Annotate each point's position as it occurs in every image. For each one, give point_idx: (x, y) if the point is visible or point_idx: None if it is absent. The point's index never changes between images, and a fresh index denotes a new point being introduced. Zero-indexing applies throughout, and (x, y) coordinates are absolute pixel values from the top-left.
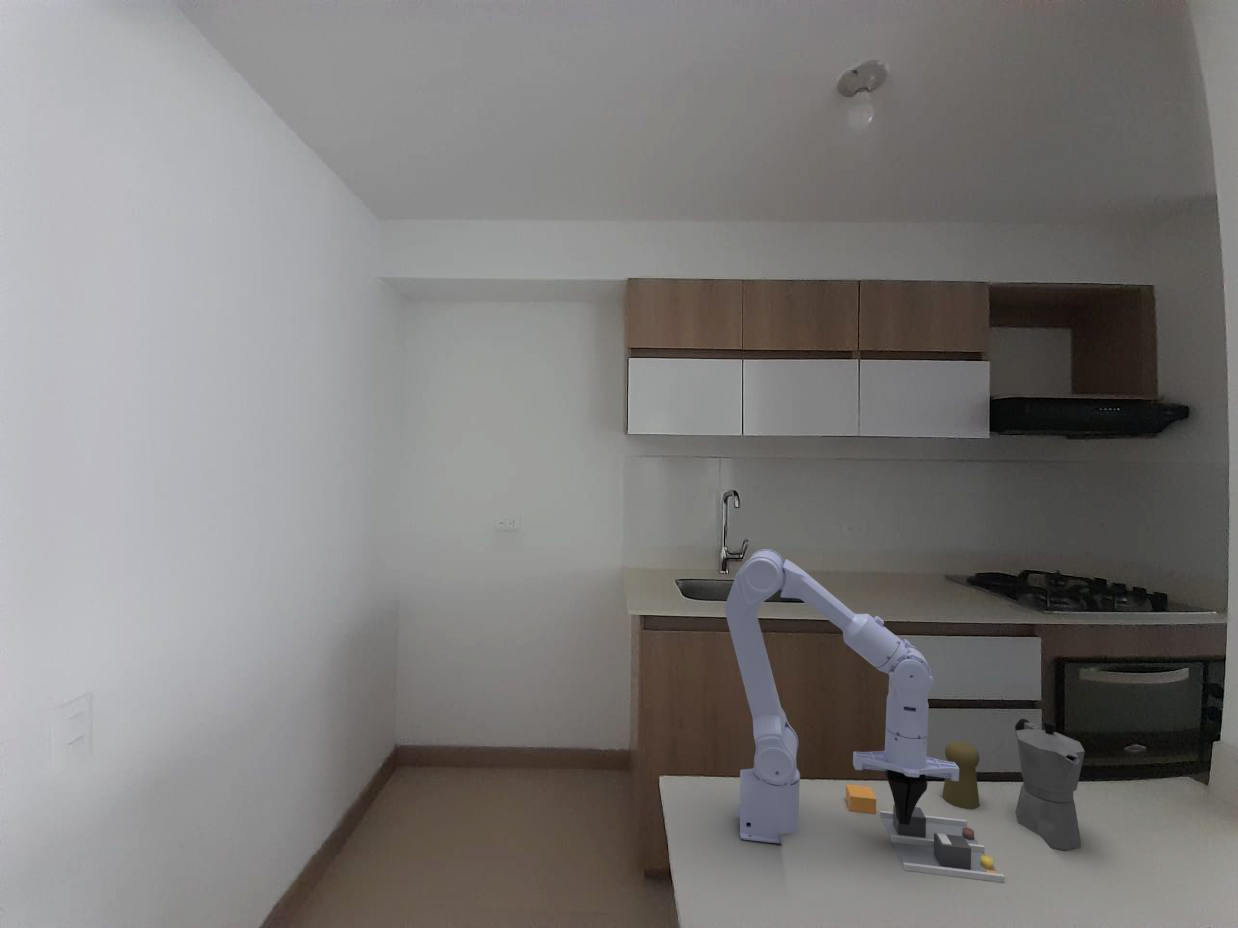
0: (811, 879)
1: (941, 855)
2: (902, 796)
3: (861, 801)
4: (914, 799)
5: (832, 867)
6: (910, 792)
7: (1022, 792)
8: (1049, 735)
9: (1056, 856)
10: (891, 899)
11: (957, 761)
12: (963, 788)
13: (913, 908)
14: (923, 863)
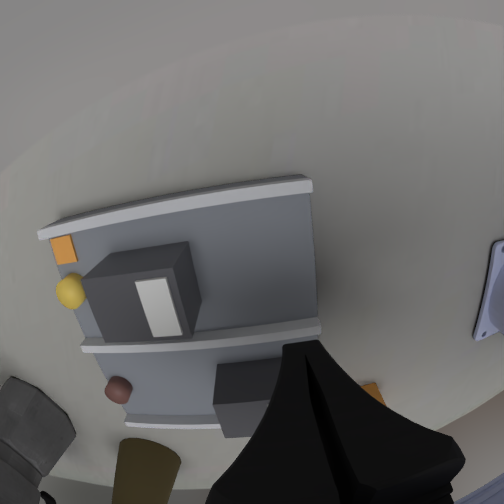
0: (490, 130)
1: (179, 253)
2: (354, 419)
3: None
4: (282, 424)
5: (458, 183)
6: (319, 450)
7: (41, 464)
8: None
9: (15, 363)
10: (344, 82)
11: None
12: (133, 483)
13: (291, 59)
14: (239, 236)
